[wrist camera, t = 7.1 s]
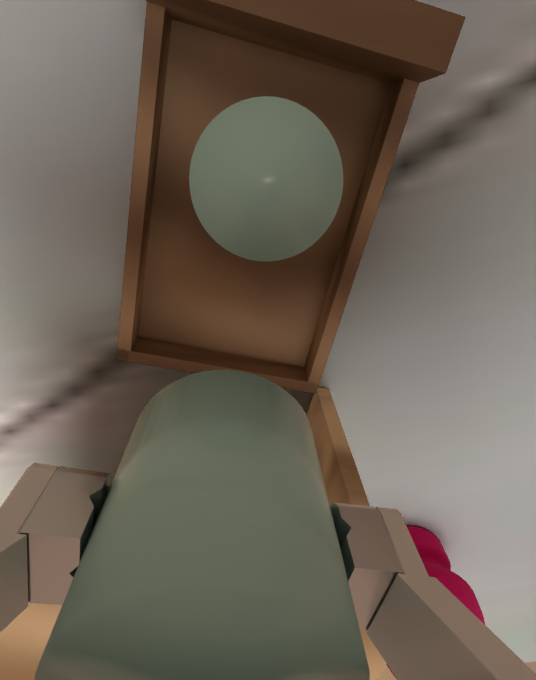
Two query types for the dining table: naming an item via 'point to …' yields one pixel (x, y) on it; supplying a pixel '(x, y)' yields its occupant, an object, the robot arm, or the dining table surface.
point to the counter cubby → (342, 487)
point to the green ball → (266, 178)
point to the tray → (184, 132)
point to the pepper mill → (443, 569)
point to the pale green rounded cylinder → (212, 549)
